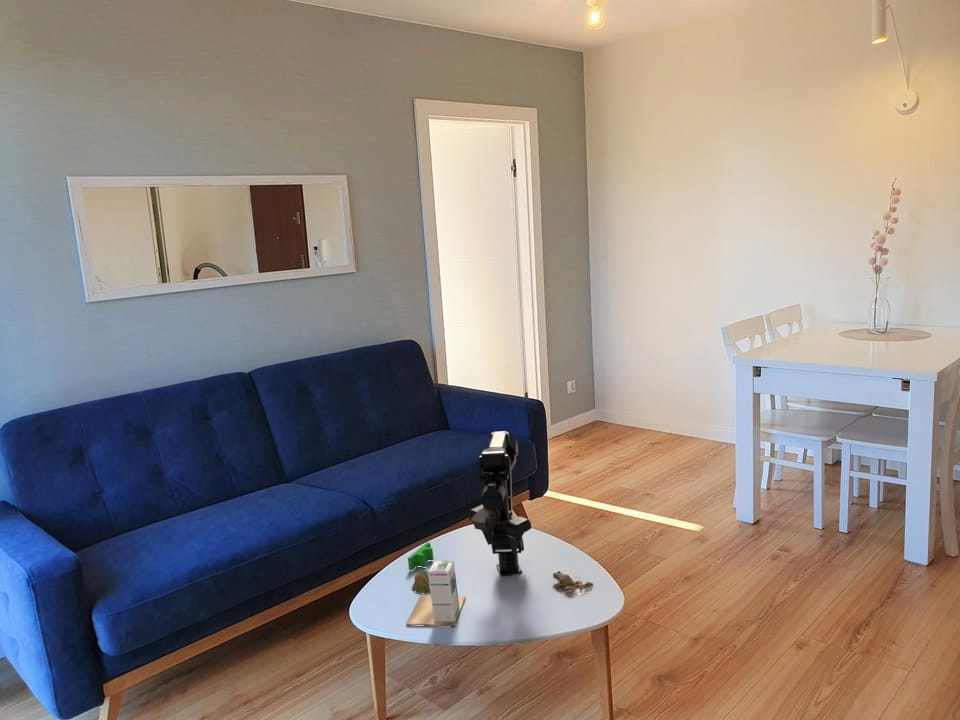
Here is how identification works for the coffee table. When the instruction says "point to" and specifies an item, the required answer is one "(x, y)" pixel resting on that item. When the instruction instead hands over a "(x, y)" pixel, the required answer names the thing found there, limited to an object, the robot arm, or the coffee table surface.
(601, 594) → the coffee table surface
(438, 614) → the syrup box
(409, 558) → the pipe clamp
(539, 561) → the coffee table surface
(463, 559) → the coffee table surface
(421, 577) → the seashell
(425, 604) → the board
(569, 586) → the frog figurine
